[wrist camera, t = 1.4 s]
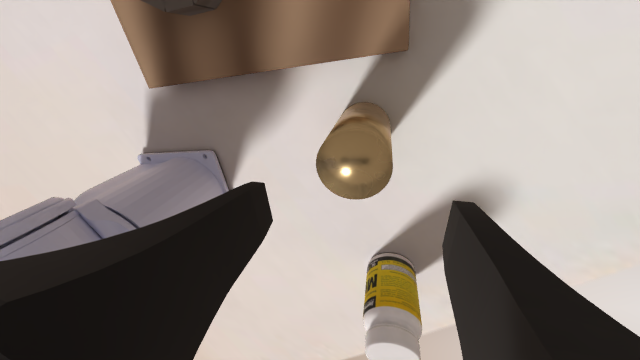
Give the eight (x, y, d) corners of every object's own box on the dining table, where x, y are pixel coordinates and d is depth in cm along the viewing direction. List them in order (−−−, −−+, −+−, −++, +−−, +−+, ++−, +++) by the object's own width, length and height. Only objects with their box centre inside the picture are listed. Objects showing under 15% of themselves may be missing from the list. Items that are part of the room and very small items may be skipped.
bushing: (340, 153, 20) (321, 198, 14) (335, 104, 18) (310, 132, 12) (390, 151, 19) (392, 199, 13) (390, 99, 17) (393, 127, 11)
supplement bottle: (370, 247, 24) (364, 331, 17) (419, 256, 23) (435, 350, 16) (364, 278, 26) (357, 364, 19) (409, 288, 25) (418, 382, 18)
